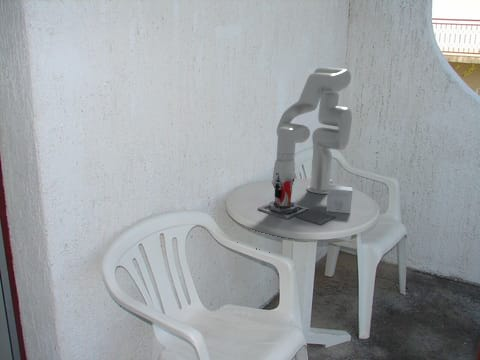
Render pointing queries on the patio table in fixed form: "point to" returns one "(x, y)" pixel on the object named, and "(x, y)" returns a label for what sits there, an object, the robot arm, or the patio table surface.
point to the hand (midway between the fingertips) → (283, 195)
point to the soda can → (285, 194)
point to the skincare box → (339, 199)
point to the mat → (316, 217)
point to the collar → (283, 210)
